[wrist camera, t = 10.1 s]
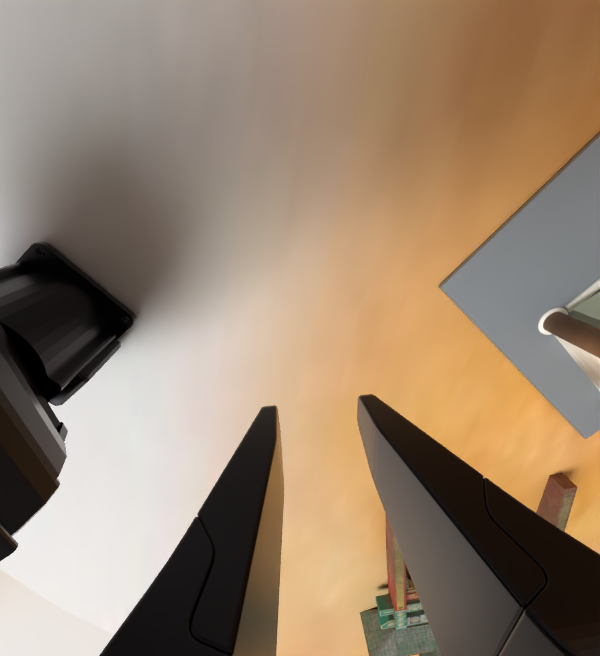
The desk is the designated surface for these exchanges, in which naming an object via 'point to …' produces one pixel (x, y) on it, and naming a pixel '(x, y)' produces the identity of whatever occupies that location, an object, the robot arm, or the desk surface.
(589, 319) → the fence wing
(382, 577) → the desk surface
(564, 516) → the miniature gate
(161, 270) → the desk surface
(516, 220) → the card
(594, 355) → the fence section
